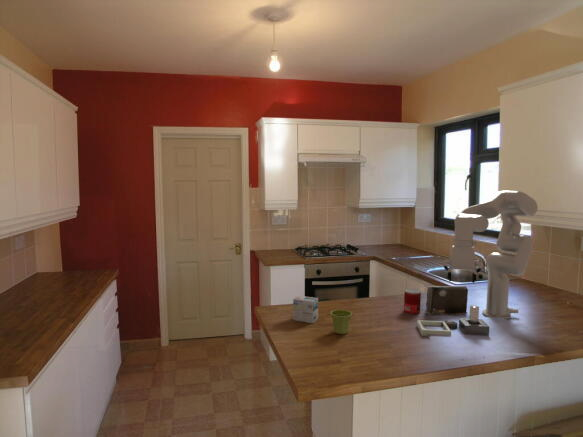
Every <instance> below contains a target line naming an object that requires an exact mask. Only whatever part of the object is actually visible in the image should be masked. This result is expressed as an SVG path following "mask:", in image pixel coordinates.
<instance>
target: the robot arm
mask: <svg viewBox="0 0 583 437" xmlns="http://www.w3.org/2000/svg"><path fill="white" fill-rule="evenodd" d="M538 207H539V206H538V203H537V201H536V200H535V199H534V198H533V197H531V196H530V195H529V194H527V193H525V192H523V191H520V190H519V191H518V190H499V191H497V192H495V193H494V194H493V195H492V196H490V197H489V198H488V199H486V201H484V202H481V203H478V204H475V205H471V206H469V207H465V208H464V209H462V211H460V212H458V214H457V215H456V216H455V219H454V242H453V245H452V246H451V249H450V256H449V257H450V258H447V259H445V260H442V261H441V265H442V267H443V268H444V270H446V271H447V279H448V281H449V282H451V281H452V271H453V270H454V269H456V270H468V271H469V270H470V271H472V274H471V276H472V277H471V283H473V284H475V282H476V281H477V275H478V274H479V272H481V271H482V269H483V268H484V266H485V264H484V263H482V262H480V261H478V260H476V255H475V254H476V253H475V251H476V250H475V247H474V246H476V245H477V241H475V240H474V239H473V238H474V233H475V232H476V233H481V232H485V231H486V230H487V229H488V228H489V224H490V223H489V219H493V218H496V217H498V216H499V215H500V216H501V221H502V225H501V228H500V230H499V234H498V237H497V241H496V244H495V245H496V249H497V250H498V251H500V252H497V251H496V252H494V251H493V252H491V253H489V254H488V255H487V257H486V262H485V263H486V269H487V287H486V288H487V290H486V309H485V308H484V309H483V310H482V314H483V316H485V317H486V318H487V317H488V318H497V319H498V318H499V319H504V320H508V319H511V317H512V314H519V309H516V308H512V307H509V295H510V294H509V292H510V280H509V277H508V275H512V276H522V275H524V274H525V272H526V270H527V268H528V264H529V262H530V258H531V255H532V253H533V248H534V241H533V238H532V237H530V236H528V235H524V234H521V231H522V224H521V222H520V219H518V217H519V216H520V217H533V216H534V215H536V214H537V212H538V209H539V208H538ZM517 216H518V217H517ZM447 263H449V265H450V266H449V267H448V266H447V265H446V264H447ZM476 265H478V268H476V269H475V267H476Z"/></svg>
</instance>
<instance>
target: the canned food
mask: <svg viewBox="0 0 583 437" xmlns="http://www.w3.org/2000/svg"><path fill="white" fill-rule="evenodd" d="M421 295H422V291H421V290H419V289H416V288H406V289H404V297H403V298H404V300H403V311H404V312H405V313H406V314H410V315H417V314H420V313H421V301H422V300H421V299H422V296H421Z"/></svg>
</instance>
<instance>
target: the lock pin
mask: <svg viewBox="0 0 583 437" xmlns="http://www.w3.org/2000/svg"><path fill="white" fill-rule="evenodd" d="M479 314H480V307H479V306H477V305H470V306H469V318H468V319H469V324H477V325H478V319H480V316H479Z"/></svg>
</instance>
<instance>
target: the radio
mask: <svg viewBox="0 0 583 437" xmlns="http://www.w3.org/2000/svg"><path fill="white" fill-rule="evenodd" d="M468 294H469V289H468V287H467V286H466V285H447V286H446V285H444V286H443V285H433V286H432V285H431V286H430V285H428V286H427V291H426V302H425V305H426V307H425V308H426V309H425V310H424V313H425V314H428V315H431V316H461V315H465V314H468V312H467V310H468Z"/></svg>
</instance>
